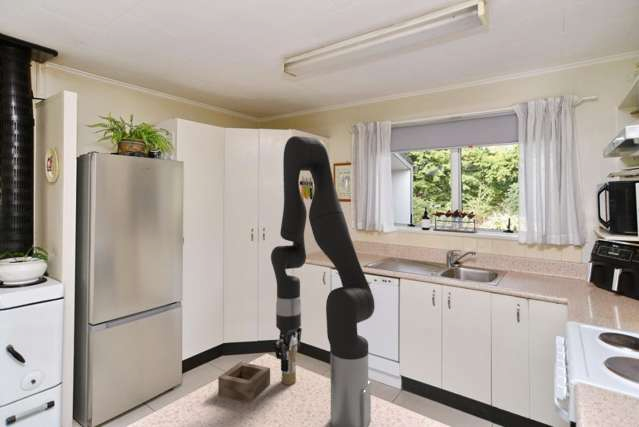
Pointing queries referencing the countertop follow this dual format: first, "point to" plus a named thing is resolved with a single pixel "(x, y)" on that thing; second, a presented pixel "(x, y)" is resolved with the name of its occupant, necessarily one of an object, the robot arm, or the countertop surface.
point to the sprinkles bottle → (290, 365)
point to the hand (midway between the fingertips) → (288, 367)
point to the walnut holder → (244, 382)
